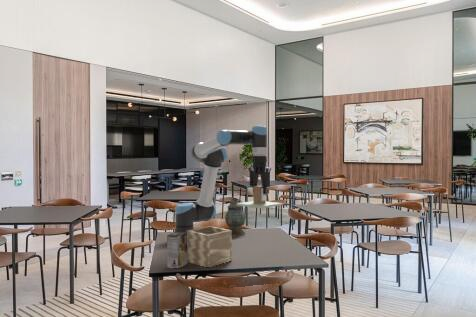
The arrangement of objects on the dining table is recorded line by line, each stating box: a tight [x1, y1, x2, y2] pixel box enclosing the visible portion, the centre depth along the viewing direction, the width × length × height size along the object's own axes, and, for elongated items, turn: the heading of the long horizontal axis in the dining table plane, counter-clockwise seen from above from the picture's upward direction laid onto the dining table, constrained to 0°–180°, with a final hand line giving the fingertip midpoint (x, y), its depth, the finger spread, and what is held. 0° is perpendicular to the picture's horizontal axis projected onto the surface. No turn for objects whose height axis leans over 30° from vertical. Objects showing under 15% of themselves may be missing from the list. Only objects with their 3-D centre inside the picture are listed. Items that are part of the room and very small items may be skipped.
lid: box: [237, 185, 283, 209], centre depth 190 cm, size 17×17×10 cm
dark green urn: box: [224, 197, 246, 237], centre depth 255 cm, size 14×14×25 cm
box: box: [187, 225, 233, 268], centre depth 188 cm, size 16×16×16 cm
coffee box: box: [166, 232, 188, 269], centre depth 181 cm, size 9×6×16 cm
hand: (259, 200), depth 191 cm, fingers closed on lid, 4 cm apart
